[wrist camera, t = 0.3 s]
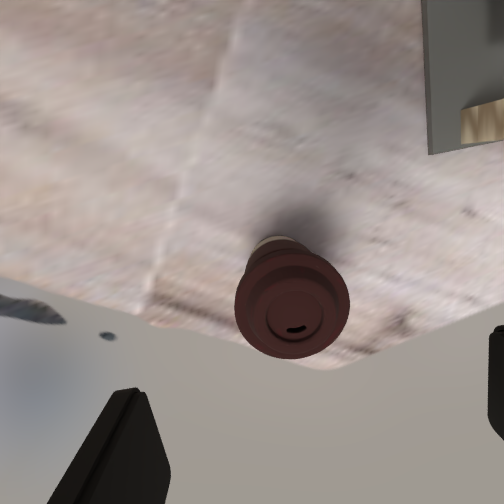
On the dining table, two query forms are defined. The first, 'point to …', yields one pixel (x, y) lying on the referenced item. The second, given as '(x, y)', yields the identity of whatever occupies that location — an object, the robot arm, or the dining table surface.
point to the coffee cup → (290, 300)
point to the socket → (483, 123)
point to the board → (460, 64)
